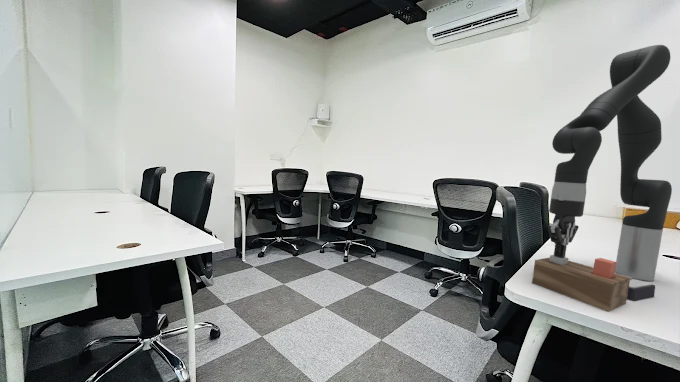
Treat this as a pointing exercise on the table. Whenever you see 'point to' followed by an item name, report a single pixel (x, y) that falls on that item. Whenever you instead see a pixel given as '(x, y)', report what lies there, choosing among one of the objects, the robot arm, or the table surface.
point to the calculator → (640, 290)
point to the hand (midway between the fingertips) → (559, 256)
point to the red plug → (604, 268)
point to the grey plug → (558, 260)
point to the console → (582, 283)
